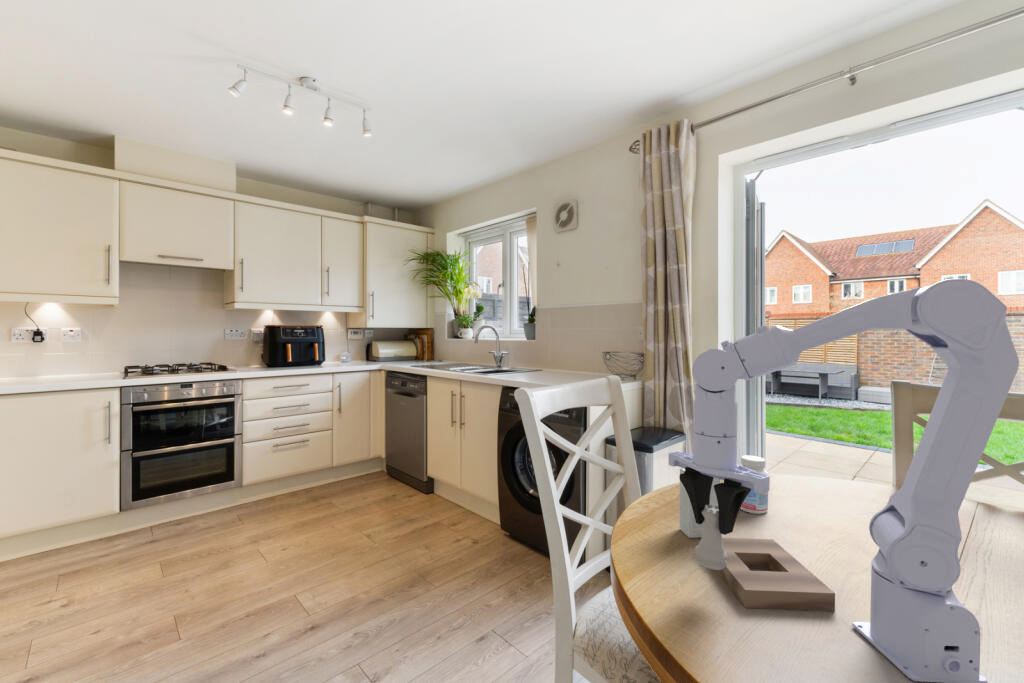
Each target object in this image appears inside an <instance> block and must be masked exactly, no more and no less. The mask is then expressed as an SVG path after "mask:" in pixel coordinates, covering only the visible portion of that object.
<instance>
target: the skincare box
mask: <svg viewBox="0 0 1024 683" xmlns="http://www.w3.org/2000/svg"><path fill="white" fill-rule="evenodd" d="M684 471H685V468H680V469H679V475H680V474H682V473H684ZM719 483H721V479H718V478H715V477H714V478H713V482H712V487H711V492H710V504H711V505H712V508H715V505H717V506H718V502H717V497H716V493H715V490H714V485H716V484H719ZM679 529H680V531H682V533H683V534H684V535H685V536H686V537H687V538H690V539H698V538H699V539H700V538H702V534H703V530H704V525H703V523H702V524H697V523H696V521H695V517H694V513H693V509H692V505H691V502H690V499H689V496H688V494H687V492H686V490H685V488H684V486H683V484H682V482H681V481H680V480H679Z"/></svg>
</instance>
